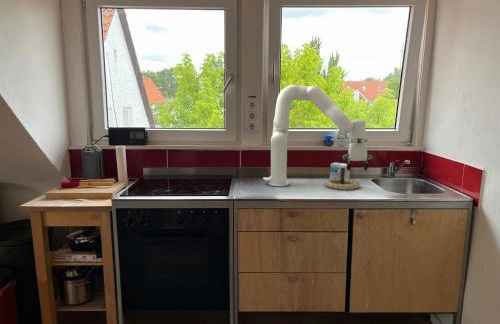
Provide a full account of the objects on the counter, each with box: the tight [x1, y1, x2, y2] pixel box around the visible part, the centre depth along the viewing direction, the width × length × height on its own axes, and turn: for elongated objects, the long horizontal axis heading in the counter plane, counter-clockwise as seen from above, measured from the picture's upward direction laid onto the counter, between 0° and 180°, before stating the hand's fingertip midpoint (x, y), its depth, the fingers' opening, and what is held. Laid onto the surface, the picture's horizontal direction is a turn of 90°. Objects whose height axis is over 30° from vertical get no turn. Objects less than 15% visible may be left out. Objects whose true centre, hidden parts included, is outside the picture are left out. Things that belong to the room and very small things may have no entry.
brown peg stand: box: [336, 167, 347, 184], centre depth 203 cm, size 7×7×11 cm
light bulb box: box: [329, 162, 351, 179], centre depth 218 cm, size 11×7×11 cm, turn 55°
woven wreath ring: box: [324, 178, 361, 191], centre depth 203 cm, size 19×20×3 cm
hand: (357, 170), depth 202 cm, fingers open, 9 cm apart
